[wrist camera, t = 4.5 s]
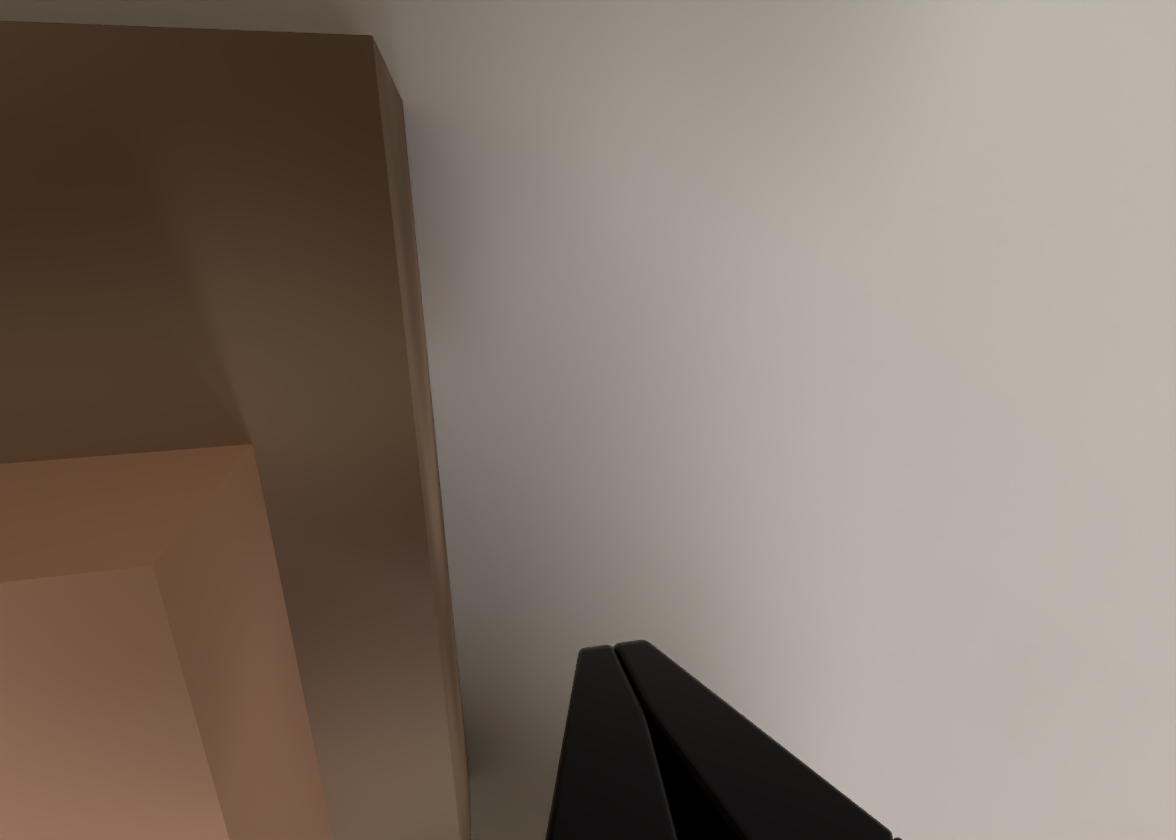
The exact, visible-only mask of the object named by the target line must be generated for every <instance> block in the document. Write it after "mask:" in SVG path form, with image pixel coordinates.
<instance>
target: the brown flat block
mask: <svg viewBox="0 0 1176 840" xmlns="http://www.w3.org/2000/svg"><path fill="white" fill-rule="evenodd" d="M246 444H253V448H254V453H255V458H256V463H257V468H258V473H259V478H260V483H261V488H262V492H263V497H264V502H265V507H266V512H267V517H268V522H269V527H270V532H271V537H272V541H273V546H274V551H275V556H276V561H277V566H278V571H279V576H280V581H281V586H282V590H283V595H284V600H285V605H286V610H287V615H288V620H289V625H290V630H291V635H292V639H293V644H294V649H295V654H296V659H297V664H298V669H299V674H300V679H301V684H302V689H303V693H304V698H305V703H306V708H307V713H308V718H309V723H310V728H311V733H312V738H313V742H314V747H315V752H316V757H317V762H318V767H319V772H320V777H321V782H322V787H323V791H324V796H325V801H326V806H327V811H328V816H329V821H330V826H331V831H332V839H331V840H471V820H470V791H469V774H468V764H467V754H466V744H465V734H464V723H463V713H462V703H461V693H460V683H459V673H458V663H457V652H456V642H455V632H454V622H453V612H452V602H451V592H450V581H449V571H448V561H447V551H446V541H445V531H444V521H443V510H442V500H441V490H440V480H439V470H438V460H437V450H436V439H435V429H434V419H433V409H432V399H431V389H430V379H429V368H428V358H427V348H426V338H425V328H424V318H423V308H422V297H421V287H420V277H419V267H418V257H417V247H416V237H415V226H414V216H413V206H412V196H411V186H410V176H409V166H408V155H407V145H406V135H405V125H404V115H403V105H402V99H401V97H400V95H399V93H398V91H397V89H396V86H395V84H394V82H393V80H392V78H391V75H390V73H389V71H388V69H387V67H386V64H385V62H384V60H383V58H382V56H381V54H380V51H379V49H378V47H377V45H376V43H375V40H374V38H373V36H370V35H345V34H319V33H294V32H268V31H243V30H217V29H192V28H166V27H141V26H115V25H90V24H64V23H39V22H13V21H0V464H6V463H18V462H31V461H44V460H56V459H69V458H82V457H94V456H107V455H120V454H132V453H145V452H158V451H170V450H183V449H196V448H208V447H221V446H234V445H246Z"/></svg>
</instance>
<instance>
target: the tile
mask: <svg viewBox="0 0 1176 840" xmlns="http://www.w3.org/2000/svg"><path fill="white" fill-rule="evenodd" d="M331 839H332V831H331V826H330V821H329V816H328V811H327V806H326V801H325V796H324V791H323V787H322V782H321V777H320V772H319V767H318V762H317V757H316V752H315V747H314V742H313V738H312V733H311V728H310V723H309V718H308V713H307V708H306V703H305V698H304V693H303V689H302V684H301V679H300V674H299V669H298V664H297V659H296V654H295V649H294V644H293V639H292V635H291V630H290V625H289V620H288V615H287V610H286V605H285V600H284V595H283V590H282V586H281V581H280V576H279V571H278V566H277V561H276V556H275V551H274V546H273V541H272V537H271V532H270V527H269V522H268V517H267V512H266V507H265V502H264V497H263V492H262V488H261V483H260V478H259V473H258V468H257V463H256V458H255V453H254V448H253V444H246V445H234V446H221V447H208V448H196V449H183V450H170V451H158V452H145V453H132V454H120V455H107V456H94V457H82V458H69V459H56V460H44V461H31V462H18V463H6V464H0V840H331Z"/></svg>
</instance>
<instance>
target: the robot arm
mask: <svg viewBox="0 0 1176 840" xmlns="http://www.w3.org/2000/svg"><path fill="white" fill-rule="evenodd" d="M545 840H902V839H901V838H898V837H897V838H894V839H893V837H892V833H891V831H890V830H889V829H887V828H886V827H885V826H884V825H882V824H881V823H880V822H878V821H877V820H876V819H875V818H873V817H872V816H871V815H869V814H868V813H867V812H866V811H864V810H863V809H862V808H861V807H859V806H858V805H857V804H855V803H854V802H853V801H852V800H850V799H849V798H848V797H846V796H845V795H844V794H843V793H841V792H840V791H839V790H838V789H836V788H835V787H834V786H832V785H831V784H830V783H829V782H827V781H826V780H825V779H823V778H822V777H821V776H820V775H818V774H817V773H816V772H814V771H813V770H812V769H811V768H809V767H808V766H807V765H806V764H804V763H803V762H802V761H800V760H799V759H798V758H797V757H795V756H794V755H793V754H791V753H790V752H789V751H788V750H786V749H785V748H784V747H783V746H781V745H780V744H779V743H777V742H776V741H775V740H774V739H772V738H771V737H770V736H768V735H767V734H766V733H765V732H763V731H762V730H761V729H759V728H758V727H757V726H756V725H754V724H753V723H752V722H751V721H749V720H748V719H747V718H745V717H744V716H743V715H742V714H740V713H739V712H738V711H736V710H735V709H734V708H733V707H731V706H730V705H729V704H727V703H726V702H725V701H724V700H722V699H721V698H720V697H719V696H717V695H716V694H715V693H713V692H712V691H711V690H710V689H708V688H707V687H706V686H704V685H703V684H702V683H701V682H699V681H698V680H697V679H696V678H694V677H693V676H692V675H690V674H689V673H688V672H687V671H685V670H684V669H683V668H681V667H680V666H679V665H678V664H676V663H675V662H674V661H672V660H671V659H670V658H669V657H667V656H666V655H665V654H664V653H662V652H661V651H660V650H658V649H657V648H656V647H655V646H653V645H652V644H651V643H649V642H648V641H645V640H636V641H629V642H622V643H617V644H616V645H615V646H614V647H611V646H609V645H601V646H594V647H587V648H583V649H581V650H580V651H579V654H578V659H577V664H576V670H575V676H574V681H573V687H572V693H571V698H570V704H569V709H568V715H567V721H566V726H565V732H564V738H563V743H562V749H561V755H560V760H559V766H558V771H557V777H556V783H555V788H554V794H553V800H552V805H551V811H550V817H549V822H548V828H547V833H546V839H545Z"/></svg>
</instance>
